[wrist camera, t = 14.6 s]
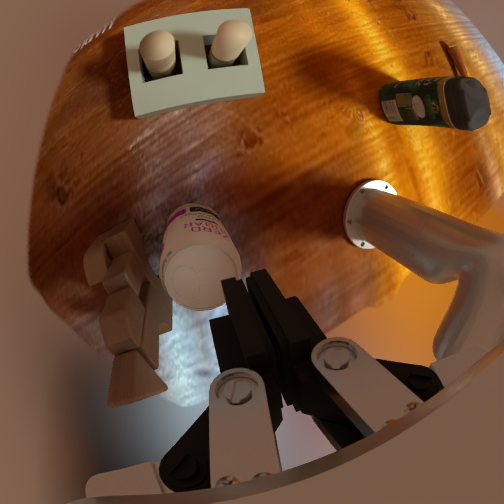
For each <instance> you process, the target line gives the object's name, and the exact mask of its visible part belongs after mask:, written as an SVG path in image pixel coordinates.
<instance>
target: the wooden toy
mask: <svg viewBox="0 0 504 504" xmlns="http://www.w3.org/2000/svg"><path fill="white" fill-rule="evenodd" d="M83 265H84V271H85V275H86V279H87V281H88V284H89V286H90V287H91V286H93V285H96V284H98V283H100V282H102V285H103V287H104V288H105V290H106V292H107V293H108V295H109V296H108V297H107V300H106V302H105V305H104V308H103V311H102V313H101V316H100V319H99V322H100V327H101V331H102V334H103V338H104V342H105V345H106V347H107V348H108V350H109V351H110V352H111V353H112V355H115V358H114V361H113V367H112V373H111V379H110V385H109V391H108V399H107V405H108V406H109V407H112V408H113V407H117V406H122V405H126V404H130V403H134V402H137V401H140V400H143V399H145V398H148V397H151V396H154V395H156V394H159V393H162V392H164V391H167V389H168V387H167V385H166V384H165V383H164V382H163V380H162V379H161V378H160V377H159V376H158V375H157V373H156V372H155V371H154V370H155V369H158V367H159V335H161V334H163V333H166V332H169V331H171V330H172V298H171V297H170V296H169V294H168V293H167V292H166V291H165V290H164V289H163V286H162V283H161V280H160V277H159V278H158V277H157V276H156V274H155V273H154V271H153V270H152V268H151V266H150V264H149V262H148V259H147V257H146V254H145V250H144V246H143V237H142V235H141V233H140V231H139V228H138V226H137V224H136V222H135V220H134V218H133V217H131V218H129V219H127V220H125V221H123V222H121V223H119V224H117V225H115V226H114V227H113V229H111V230H109V231H107V232H105V233H103V234H101V235H99V236H97V238H96V239H95V240H94V241H93V242H92V244H91V245H90V246H89V248H88V249H87V250H86V252H85V254H84V258H83Z"/></svg>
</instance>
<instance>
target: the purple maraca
mask: <svg viewBox="0 0 504 504" xmlns="http://www.w3.org/2000/svg"><path fill="white" fill-rule="evenodd" d="M446 50H447V51H448V53H449V55H450V56H451V58H452V60H453V62H454V63H455V65H456V67H457V69H458V71H459V72H460V74H461V76H462V77H468V75H467V72H466V69H465V66H464V63H463V60H462V57H461V55H460V52H459V49H458V47H457V46H455V47H451V48H447V49H446ZM488 120H489V119H488ZM487 122H488V121H487Z"/></svg>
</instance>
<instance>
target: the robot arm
mask: <svg viewBox="0 0 504 504" xmlns="http://www.w3.org/2000/svg"><path fill="white" fill-rule="evenodd" d="M343 225H344V230H345V233H346V235H347V237H348V239H349V240H350V241H351V242H352V243H353V244H354V245H356V246H357V247H359V248H362V249H373V248H377V249H379V250H380V251H382V252H383V253H385V254H386V255H388V256H390V257H391V258H393V259H394V260H396V261H397V262H399V263H400V264H402V265H403V266H405V267H406V268H408V269H409V270H411V271H412V272H414V273H415V274H417V275H418V276H420V277H421V278H423V279H424V280H426V281H428V282H430V283H434V284H445V283H449V282H453V281H456V280H459V282H458V286H457V289H456V291H455V295H454V297H453V299H452V301H451V303H450V306H449V308H448V310H447V312H446V314H445V316H444V318H443V320H442V322H441V324H440V326H439V328H438V330H437V333H436V335H435V337H434V341H433V353H434V356H435V358H436V360H437V361H436V362H434V363H431V364H430V366H429V367H425V366H421V365H413V364H406V363H400V362H393V361H387V360H381V359H375V358H373V357H372V356H371V355H370V354H369V353H367V352H366V351H365V350H364V349H363V348H361V347H360V346H359V345H358V344H357V343H356V342H354V341H352V340H351V339H348V338H344V337H333V338H328V339H327V338H326V336H325V335H324V333H323V332H322V331H321V329H320V328H319V326H318V325H317V324H316V322H315V321H314V320H313V318H312V317H311V316H310V314H309V313H308V311H307V310H306V309H305V307H304V306H303V305H302V303H301V302H300V301H299V299H298V298H297V297H295V296H294V297H290V298H287V299H285V298H284V296H283V295H282V293H281V292H280V290H279V289H278V287H277V286H276V284H275V283H274V281H273V280H272V278H271V277H270V275H269V274H268V272H267V271H266V269H262V270H259V271H255V272H251V273H250V276H251V277H247V278H246V283H247V288H248V291H247V289H246V287H245V285H244V283H243V281H242V279H240V280H236V278H235V277H232V278H228V279H224V280H221V285H222V289H223V293H224V297H225V301H226V305H227V309H228V313H229V315H226V316H222V317H218V318H214V319H210V320H209V322H210V327H211V332H212V336H213V341H214V346H215V350H216V355H217V359H218V364H219V368H220V372H221V374H219V375H218V376H217V377H216V378H215V379H214V380H213V382H212V383H211V385H210V390H209V406H208V407H207V409H206V410H205V411H204V412H203V413H202V415H201V416H200V417H199V418H198V419H197V420H196V421H195V422H194V424H193V425H192V426H191V427H190V428H189V429H188V430H187V432H186V433H185V434H184V435H183V436H182V437H181V438H180V439H179V440H178V442H177V443H176V444H175V445H174V446H173V447H172V448H171V449H170V450H169V451H168V452H167V454H166V455H165V456H164V457H163V459H162V460H161V461H159V462H156V463H152V462H151V461H149V462H146V463H143V464H139V465H135V466H132V467H128V468H124V469H120V470H115V471H111V472H106V473H102V474H97V475H95V476H93V477H91V478H90V479H89V480H88V482H87V484H86V497H87V498H86V499H81V500H76V501H73V502H70V503H68V504H504V234H503V233H500V232H496V231H492V230H489V229H485V228H482V227H479V226H476V225H473V224H471V223H468V222H466V221H463V220H460V219H458V218H455V217H453V216H451V215H448V214H446V213H443V212H441V211H438V210H436V209H433V208H431V207H428V206H426V205H423V204H420V203H418V202H415V201H412V200H410V199H407V198H404V197H401V196H398V195H397V194H396V191H395V190H394V189H393V187H392V186H391V185H390V184H388V183H386V182H385V181H381V180H376V179H372V180H368V181H365V182H363V183H361V184H360V185H359V186H357V187H356V188H355V189H354V191H353V192H352V193H351V195H350V196H349V198H348V200H347V202H346V205H345V209H344V214H343ZM248 293H249V294H248ZM281 393H282V396H283V398H284V400H285V402H286V404H287V406H289V405H292V404H293V406H294V408H295V410H296V412H297V411H300V410H301V412H302V413H304V414H307V415H311V417H312V419H313V421H314V422H315V424H316V425H317V426H318V427H319V429H320V430H321V431H322V433H323V434H324V435H325V436H326V438H327V439H328V440H329V442H330V443H331V444H332V445H333V447H334V448H335V449H336V450H337V451H336V452H334V453H331V454H329V455H327V456H324V457H322V458H319V459H317V460H314V461H311V462H309V463H306V464H303V465H300V466H298V467H294V468H292V469H288V470H285V471H282V467H281V461H280V456H279V451H278V446H277V440H276V436H275V431H276V430H277V428H278V427H279V425H280V423H281V422H282V420H283V418H282V411H281V408H283V403H282V396H281Z"/></svg>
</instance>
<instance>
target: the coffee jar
mask: <svg viewBox="0 0 504 504" xmlns="http://www.w3.org/2000/svg"><path fill="white" fill-rule="evenodd" d="M380 103H381V107H382V110H383V112H384V114H385V116H386V118H387V119H388V121H389V122H391V123H392V124H395V125H422V126H437V127H447V128H453V129H457V130H470V131H473V130H476V129H478V128H481V127H482V126H484V125H485V124H486V123H487V121H488V119H489V116H490V115H491V109H490V103H489V99H488V94H487V91H486V89H485V88H484V87H483V85H482V84H481V83H480V82H479V81H478V80H477V79H475V78H472V77H461V76H455V77H432V78H422V79H415V80H407V81H400V82H394V83H390V84H387V85H385V86H383V87H382V89H381V91H380Z"/></svg>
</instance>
